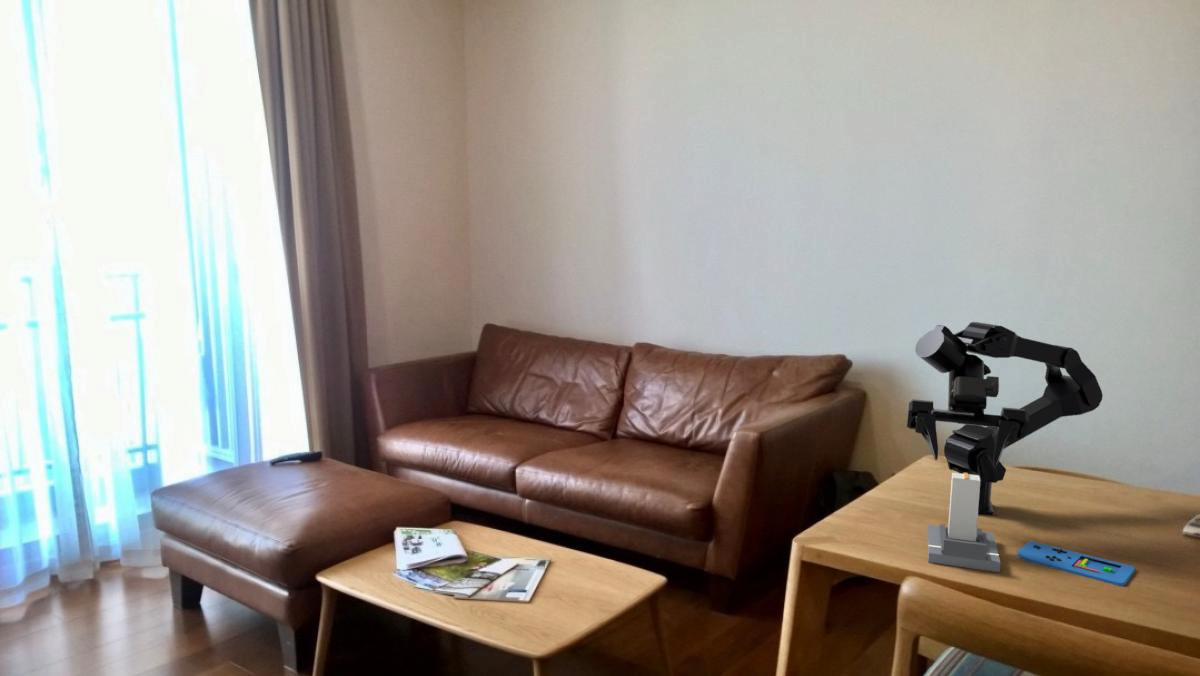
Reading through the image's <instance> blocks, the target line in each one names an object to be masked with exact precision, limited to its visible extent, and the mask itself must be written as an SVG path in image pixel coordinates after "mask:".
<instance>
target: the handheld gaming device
mask: <svg viewBox="0 0 1200 676" xmlns="http://www.w3.org/2000/svg"><path fill="white" fill-rule="evenodd" d="M1016 555H1017V557H1018V556H1019V557H1020V558H1019V557H1018V558H1019V559H1021V558H1022V559H1021V560H1023V559H1024V560H1023V561H1025V562H1028V563H1030V564H1031V563H1033V564H1035V563H1036V565H1039V566H1042V565H1044V566H1043V567H1046V566H1048V567H1047V568H1050V567H1051V568H1050V569H1054V568H1055V569H1054V570H1057V569H1059V570H1058V571H1061V570H1062V572H1065V571H1066V572H1065V573H1069V574H1073V575H1076V574H1077V575H1076V576H1080V575H1081V576H1080V577H1084V578H1088V579H1091V578H1092V579H1091V580H1095V579H1096V581H1099V582H1103V583H1107V584H1110V585H1111V584H1112V585H1115V586H1117V587H1125V586H1126V584H1127V583H1128V581H1130V579H1131V578H1132V576H1133V575H1134V574H1135V572H1136V568H1135V566H1132V565H1130V564H1129V565H1128V564H1125V563H1121V562H1117V561H1114V560H1113V561H1112V560H1109V559H1105V558H1101V557H1097V556H1093V555H1089V554H1084V553H1082V552H1081V553H1080V552H1077V551H1073V550H1069V549H1065V548H1061V547H1057V546H1052V545H1049V544H1044V543H1040V542H1037V541H1032V540H1031V541H1028V542H1027V543H1026V544H1025V545H1024V546H1022V547H1021V548H1020V549H1019V550H1018V551H1017V554H1016Z"/></svg>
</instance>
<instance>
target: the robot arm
mask: <svg viewBox="0 0 1200 676" xmlns="http://www.w3.org/2000/svg"><path fill="white" fill-rule="evenodd" d="M914 349H915V350H914V351H915V354H916V355H917V357H919V358H920V359H921V360H922V361H924V362H925V363H926V364H928V365H930V367H932V368H933V369H935V370H936V371H938V372H939V373H941V374H947V373H948V397H947V398H948V399H947V404H948V405H947V409H940V408H934V401H933V400H925V399H924V400H923V399H911V400H910V401H909V402H908V407H907V420H906V427H907V428H909V429H910V430H915V433H916V434H920V435H921V436H922V437H923V439H924V440H925V442H926V443H927V445H928V447H929V450H930V452H931V454H932V456H933V459H934V461H938V458H939V445H938V435H937V424H936V423H937V422H944V423H956V424H960V425H963V426H962V427H960V428H958V429H954V430H952V434H951V435H949V436H948V437H947V438H946V439H945V444H944V447H943V453H944V457H945V459H946V462H947V467H948V469H949V470H950V471H953V472H954V471H955V473H961V474H964V473H968V474H971V475H979V477H980V492H979V506H978V514H986V515H993V514H995V513H994V510H995V509H994V507H993V504H992V501H991V499H992V498H991V497H992V487H993V485H992V484H996V483H998V482H999V481H1000V482H1001V481H1003V480H1004V477H1005V475H1006V472H1007V468H1006V467H1005V466H1004V465H1003V463H1001V461H1000V460H1001V456H1002V454H1003V451H1004V450H1005V449H1007V448H1009V447H1010V446H1012V445H1014V444H1016V443H1017V442H1019V441H1021V440H1024V439H1025V438H1026V437H1028V436H1030V435H1032V434H1033V433H1036V432H1037V431H1039V430H1040V429H1043V428H1045V427H1046V426H1047V425H1049V424H1051V423H1053V422H1055V421H1057V420H1058V419H1060V418H1062V417H1072V416H1073V417H1075V416H1081V415H1084V414H1087V413H1090V412H1093V411H1094V410H1096V409H1097V408H1099V406H1100V405H1101V403H1102V400H1103V396H1104V395H1103V392H1102V389H1101V386H1100V384H1099V381H1098V379H1097V377H1096V375H1095V374H1094V372H1093V371H1092V370H1091V369H1090V368H1089V367H1088V366H1087V365H1086V364H1085V363H1084V362H1083V361H1082V359H1081V357H1080V353H1079V352H1078V351H1077V350H1076V349H1075V348H1073V347H1069V346H1063V345H1058V344H1050V343H1047V342H1043V341H1037V340H1035V339H1029V338H1025V337H1022V336H1020V335H1018V334H1017V333H1016V332H1015V331H1013V330H1011V329H1009V328H1008V327H1005V326H1002V325H997V324H992V323H987V322H986V323H984V322H978V321H972V322H969V324H968V325H966V327H965V328H964V329H963V330H960V331H958V332H956V333H953V332H952V330H951V329H949V327H947V326H946V325H941V324H937V325H935V327H934V329H933V330H930V331H927V333H925V334H923V336H921V337H920V338H919V339H918V340H917V342H916V344H915V347H914ZM977 355H979V356H984V357H990V358H995V359H998V358H999V359H1002V358H1003V359H1006V358H1007V359H1009V358H1013V357H1015V358H1021V359H1025V360H1030V361H1032V362H1033V361H1034V362H1038V363H1043V364H1045V367H1046V371H1045V376H1044V380H1045V383H1046V384H1047V385H1046V386H1045V387H1044V391H1043V394H1042V396H1041V397H1038V398H1037V399H1035V400H1033V401H1031V402H1030V403H1028V404H1026V405H1024V406H1023V407H1020V408H1015V407H1014V408H1013V407H1005V406H1004V407H1002V406H1001V411H1000V415H997V414H989V413H988V414H987V413H985V410H986V409H987V403H988V401H987V400H988V399H987V398H997V397H998V395H999V392H1000V382H999V376H990V374H991V373H992V371H991V368H990V367H989V366H988V365H986V363H985V362H984V360H982V358H980V357H979V356H977ZM1061 369H1065V371H1066V373H1067V374H1068V375H1066V374H1063V373H1062V371H1061ZM986 375H987V376H986ZM985 376H986V378H985Z"/></svg>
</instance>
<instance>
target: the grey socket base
mask: <svg viewBox="0 0 1200 676" xmlns="http://www.w3.org/2000/svg"><path fill="white" fill-rule="evenodd" d="M926 532H927V533H926V534H927V561H928V562H927V563H931V564H939V565H946V566H953V567H959V568H960V567H961V568H967V569H974V570H979V571H980V570H981V571H987V572H995V573H1001V560H1000V559H1001V558H1000V554H999V552H998V551H999V550H998V547H997V543H996V539H995V535H994V532H990V531H989V532H988V531H983V529H982V528H978V527H977V532H976V542H975V541H968V540H960V539H953V538H948V526H946V524H944V523H939V525H932V524H927V531H926Z"/></svg>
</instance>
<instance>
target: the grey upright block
mask: <svg viewBox="0 0 1200 676" xmlns="http://www.w3.org/2000/svg"><path fill="white" fill-rule="evenodd" d="M979 492H980V477H979V475H971V474H968V473H964V474H961V473H959V472H951V482H950V495H949V497H950V499H949V509H948V510H949V511H948V512H949V513H948V524H947V527H948V538H953V539H960V540H968V541H975V542H976V532H977V528H978V518H979V513H978V506H979Z"/></svg>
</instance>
